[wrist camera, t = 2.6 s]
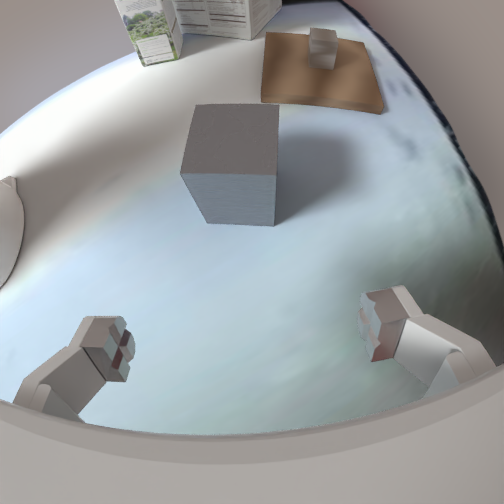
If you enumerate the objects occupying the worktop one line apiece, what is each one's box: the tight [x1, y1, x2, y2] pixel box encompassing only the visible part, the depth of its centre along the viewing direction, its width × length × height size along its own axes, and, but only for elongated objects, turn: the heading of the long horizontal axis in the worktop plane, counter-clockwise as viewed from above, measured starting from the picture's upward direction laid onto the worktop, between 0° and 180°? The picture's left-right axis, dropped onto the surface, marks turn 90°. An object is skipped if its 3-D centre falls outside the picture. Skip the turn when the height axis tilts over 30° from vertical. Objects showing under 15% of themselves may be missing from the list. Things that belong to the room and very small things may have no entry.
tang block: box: [261, 28, 384, 115], centre depth 28 cm, size 14×14×6 cm
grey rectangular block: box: [180, 104, 279, 226], centre depth 22 cm, size 6×6×9 cm
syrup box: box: [114, 0, 183, 66], centre depth 27 cm, size 6×6×14 cm
